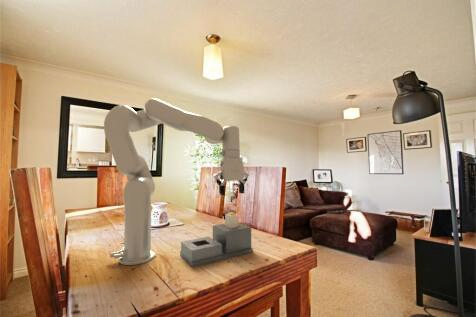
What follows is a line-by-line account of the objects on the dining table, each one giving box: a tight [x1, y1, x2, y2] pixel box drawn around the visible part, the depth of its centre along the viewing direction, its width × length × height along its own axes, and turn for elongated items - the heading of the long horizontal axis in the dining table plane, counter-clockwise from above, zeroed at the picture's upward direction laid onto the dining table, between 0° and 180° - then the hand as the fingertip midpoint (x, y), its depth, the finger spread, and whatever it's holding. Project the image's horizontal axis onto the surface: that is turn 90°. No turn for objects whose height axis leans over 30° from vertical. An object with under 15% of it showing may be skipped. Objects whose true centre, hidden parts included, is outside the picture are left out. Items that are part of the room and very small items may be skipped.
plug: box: [224, 212, 239, 229], centre depth 94 cm, size 4×5×10 cm
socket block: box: [179, 222, 254, 268], centre depth 90 cm, size 26×14×10 cm, turn 122°
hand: (232, 194), depth 95 cm, fingers open, 9 cm apart
